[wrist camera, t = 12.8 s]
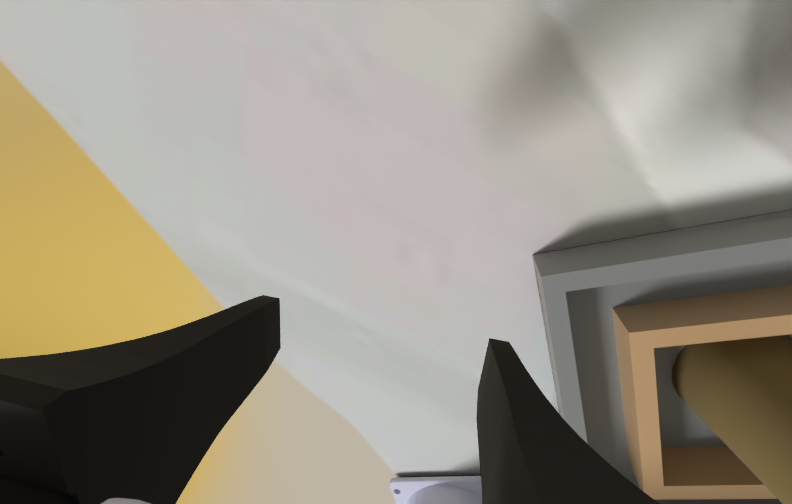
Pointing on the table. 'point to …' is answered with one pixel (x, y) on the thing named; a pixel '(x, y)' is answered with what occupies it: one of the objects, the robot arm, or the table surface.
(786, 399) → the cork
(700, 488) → the tray
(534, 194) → the table surface
